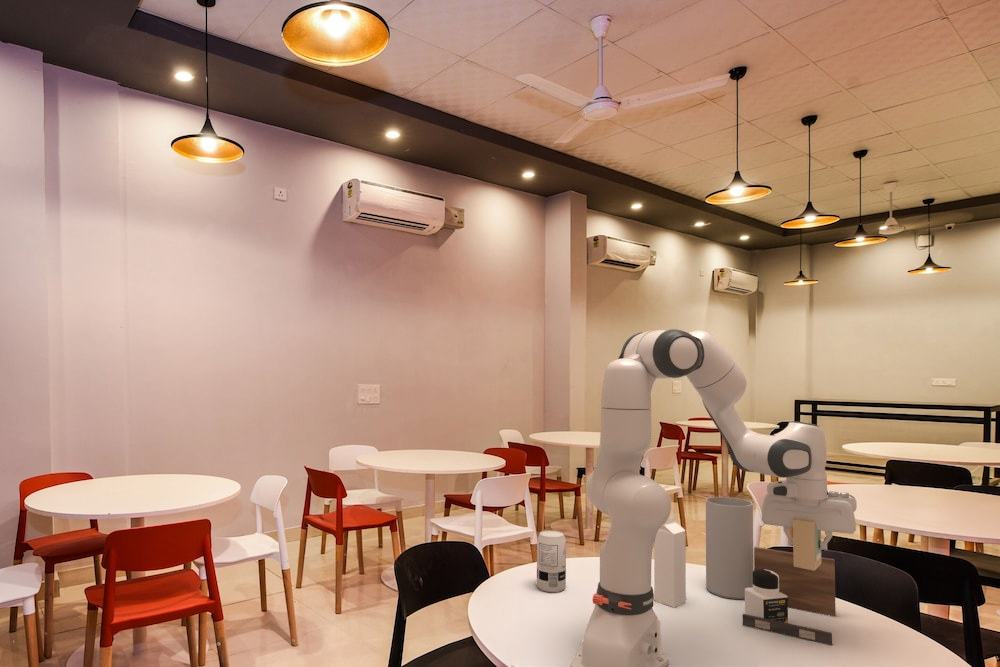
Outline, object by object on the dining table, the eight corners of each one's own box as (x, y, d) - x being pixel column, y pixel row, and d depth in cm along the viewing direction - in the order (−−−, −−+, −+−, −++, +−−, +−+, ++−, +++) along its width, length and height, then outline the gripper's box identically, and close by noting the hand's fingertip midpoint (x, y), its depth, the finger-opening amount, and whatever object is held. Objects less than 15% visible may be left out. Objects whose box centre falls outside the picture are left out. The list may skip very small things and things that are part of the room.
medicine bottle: (764, 628, 142) (763, 577, 142) (744, 616, 148) (743, 568, 149) (788, 625, 143) (788, 575, 144) (768, 614, 150) (767, 566, 151)
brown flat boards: (832, 645, 133) (830, 582, 134) (742, 625, 143) (741, 566, 144) (835, 615, 150) (834, 559, 151) (755, 599, 160) (754, 546, 161)
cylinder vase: (757, 602, 158) (756, 507, 160) (708, 597, 161) (707, 504, 163) (750, 586, 170) (749, 498, 172) (704, 581, 173) (704, 495, 175)
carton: (822, 563, 143) (821, 517, 144) (815, 570, 137) (814, 522, 138) (801, 559, 146) (800, 514, 147) (793, 566, 140) (792, 519, 141)
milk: (685, 602, 157) (686, 518, 159) (673, 608, 153) (674, 521, 155) (665, 595, 162) (666, 514, 163) (653, 601, 158) (654, 517, 159)
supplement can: (531, 585, 168) (532, 531, 169) (556, 581, 171) (557, 528, 173) (545, 594, 161) (546, 538, 162) (571, 590, 164) (571, 535, 165)
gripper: (854, 491, 141) (855, 549, 140) (761, 483, 150) (762, 538, 149) (858, 495, 136) (859, 557, 135) (761, 487, 144) (761, 545, 143)
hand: (807, 547), depth 142 cm, fingers closed on carton, 5 cm apart
